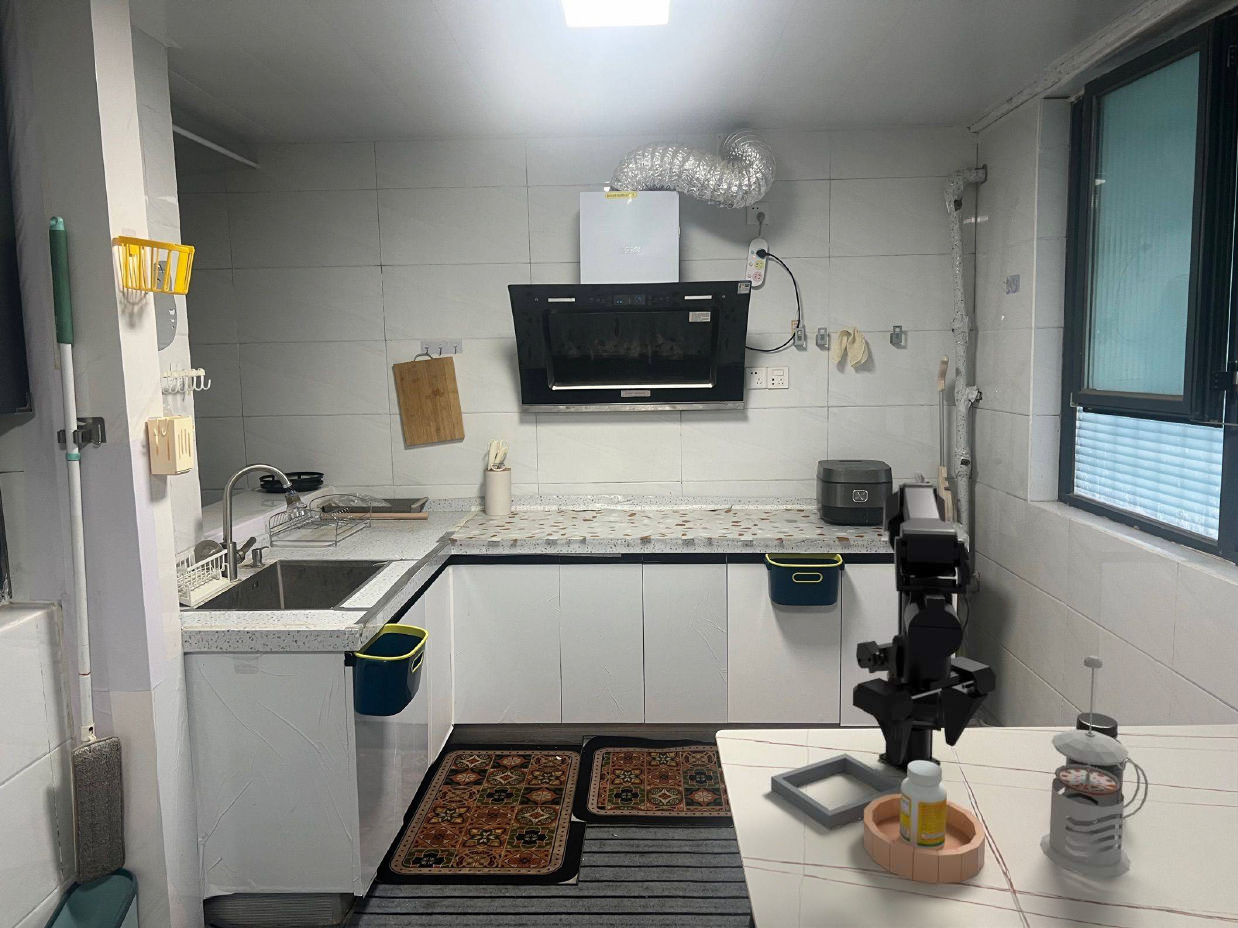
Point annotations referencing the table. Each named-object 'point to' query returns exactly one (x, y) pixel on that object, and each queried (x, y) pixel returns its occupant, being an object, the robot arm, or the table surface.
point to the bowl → (933, 866)
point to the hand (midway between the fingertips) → (923, 753)
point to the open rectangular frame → (815, 771)
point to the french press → (1089, 802)
